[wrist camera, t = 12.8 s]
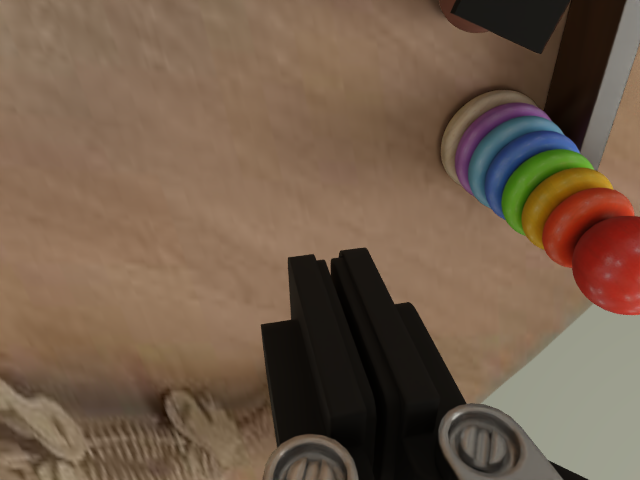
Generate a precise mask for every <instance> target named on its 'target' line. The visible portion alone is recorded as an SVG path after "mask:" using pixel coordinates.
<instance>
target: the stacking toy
mask: <svg viewBox="0 0 640 480" xmlns="http://www.w3.org/2000/svg"><path fill="white" fill-rule="evenodd" d="M441 159H442V163H443V166H444V168H445V170H446V172H447V174H448V175H449V176H450V177H451V178H452V179H453V180H454V181H455V182H456V183H457V184H459V185H461V186H463V188H464V189H465V190H466V191H467V192H469V193H470V194H471V195H473V196H475V197H476V198H477V199H478V200H479V201H480V202H481V203H482V204H483V205H485V206H487V207H489V208H491V209H492V210H493V211H494V212H495V213H496V214H497V215H498V216H500V217H501V218H503V219H505V220H506V221H507V223H508V224H509V225H510V226H511V227H512V228H513V229H514V230H515V231H516V232H518V233H520V234H522V235H525V236H527V238H528V239H529V240H530V241H531V242H532V243H533V244H534V245H536V246H537V247H539V248H541V249H544V250H545V251H546V253H547V255H548V256H549V257H550V258H551V259H552V260H553V261H554V262H556V263H557V264H559V265H561V266H564V267H569V268H572V270H573V275H574V278H575V281H576V283H577V285H578V287H579V288H580V290H581V291H582V293H583V294H584V295H585V296H586V297H587V298H588V299H589V300H590V301H591V302H593V303H594V304H596V305H597V306H599V307H601V308H603V309H604V310H607V311H610V312H613V313H617V314H623V315H639V314H640V217H637V216H634V210H633V207H632V205H631V203H630V201H629V200H628V199H627V198H626V197H625V196H624V195H623V194H621V193H620V192H618V191H616V190H613V187H612V185H611V183H610V182H609V180H608V179H607V178H606V177H605V176H604V175H603V174H601V173H600V172H598V171H596V170H594V168H593V166H592V164H591V163H590V162H589V161H588V160H587V159H586V158H585V157H584V156H583V155H581V154H580V152H579V150H578V148H577V146H576V145H575V144H574V142H573V141H572V140H571V139H569V138H568V137H566V136H565V135H564V134H563V132H562V131H561V129H560V128H559V127H558V126H557V125H556V124H554V123H553V122H552V120H551V119H550V118H549V116H548V115H547V114H546V113H545V112H544V111H542V110H541V109H540V108H538V107H537V105H536V104H535V103H534V102H533V101H532V100H531V99H530V98H529V97H527V96H526V95H524V94H522V93H519V92H516V91H512V90H496V91H491V92H487V93H484V94H482V95H480V96H477V97H475V98H474V99H472V100H470V101H469V102H468V103H466V104H465V105H464V106H463V107H462V108H461V109H460V110H459V111H458V112H457V113H456V114H455V115H454V116H453V118H452V119H451V121H450V122H449V124H448V126H447V128H446V130H445V132H444V135H443V138H442V143H441Z"/></svg>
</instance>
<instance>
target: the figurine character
mask: <svg viewBox="0 0 640 480" xmlns="http://www.w3.org/2000/svg"><path fill="white" fill-rule="evenodd" d="M570 1H571V0H439V4H440V7H441V9H442V12H443V14H444V15H445V17H446V18H447V19H448V21H449V22H450V23H452V24H453V25H454V26H455V27H457V28H459V29H461V30H463V31H466V32H471V33H482V32H488V31H491V32H493V33H495V34H497V35H499V36H501V37H503V38H506V39H508V40H510V41H512V42H514V43H516V44H519V45H521V46H523V47H525V48H527V49H529V50H532V51H534V52H536V53H539V54H541V53H542V52H543V50H544V48H545V46H546V44H547V42H548V41H549V39H550V37H551V35H552V33H553V32H554V30H555V28H556V26H557V24H558V22H559V21H560V19H561V17H562V15H563V13H564V12H565V10H566V8H567V6H568V4H569V2H570Z"/></svg>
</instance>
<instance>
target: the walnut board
mask: <svg viewBox="0 0 640 480" xmlns="http://www.w3.org/2000/svg"><path fill="white" fill-rule="evenodd" d="M639 44H640V0H572V1H571V6H570V10H569V14H568V18H567V22H566V26H565V30H564V34H563V38H562V42H561V46H560V50H559V54H558V58H557V62H556V66H555V70H554V74H553V78H552V82H551V86H550V90H549V94H548V98H547V102H546V106H545V110H544V112H545V113H546V114H547V115H548V116H549V118H550V119H551V120H552V122H553V123H554V124H556V125H557V126H558V127H559V128H560V129H561V131H562V132H563V134H564V135H565V136H566V137H568V138H569V139H571V140H572V141H573V142H574V144H575V145H576V146H577V148H578V150H579V152H580V154H581V155H583V156H584V157H585V158H586V159H587V160H588V161H589V162H590V163H591V164H592V166H593V168H594V170H596V171H597V170H598V167H599V164H600V161H601V158H602V155H603V152H604V149H605V146H606V143H607V140H608V137H609V134H610V131H611V128H612V125H613V122H614V119H615V116H616V113H617V110H618V107H619V104H620V101H621V98H622V95H623V92H624V89H625V86H626V83H627V80H628V77H629V74H630V71H631V68H632V65H633V62H634V59H635V56H636V53H637V50H638V47H639Z"/></svg>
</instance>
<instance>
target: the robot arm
mask: <svg viewBox="0 0 640 480" xmlns="http://www.w3.org/2000/svg"><path fill="white" fill-rule="evenodd" d="M288 274H289V290H290V307H291V320H287V321H281V322H274V323H267V324H261V331H262V341H263V350H264V358H265V366H266V374H267V381H268V388H269V395H270V402H271V409H272V415H273V422H274V429H275V436H276V442H277V449H276V450H274V451H273V452H272V454H271V456H270V458H269V459H268V461H267V463H266V465H265V470H264V475H263V480H588V479H586V478H584V477H582V476H580V475H578V474H576V473H573V472H571V471H569V470H567V469H565V468H563V467H561V466H559V465H557V464H555V463H553V462H551V461H549V460H547V459H546V457H545V456H544V455H543V454H542V452H541V451H540V450H539V449H538V448H537V446H536V445H535V444H534V442H533V441H532V440H531V439H530V438H529V436H528V435H527V434H526V432H525V431H524V430H523V429H522V428H521V426H520V425H518V423H516V422H515V421H514V420H513V419H512V418H511V417H510V416H509V415H507V414H505V413H504V412H502V411H500V410H499V409H496V408H493V407H490V406H487V405H484V404H473V403H470V404H466V402H465V400H464V398H463V396H462V394H461V392H460V391H459V389H458V387H457V385H456V383H455V381H454V379H453V378H452V376H451V374H450V372H449V370H448V368H447V366H446V365H445V363H444V361H443V359H442V357H441V355H440V353H439V352H438V350H437V348H436V346H435V344H434V342H433V340H432V339H431V337H430V335H429V333H428V331H427V329H426V327H425V326H424V324H423V322H422V320H421V318H420V316H419V314H418V313H417V311H416V309H415V307H414V306H413V305H412V304H411V303H410V302H407V303H400V304H394V302H393V300H392V298H391V296H390V294H389V292H388V290H387V288H386V286H385V284H384V282H383V280H382V278H381V276H380V274H379V272H378V270H377V268H376V266H375V264H374V262H373V260H372V258H371V256H370V254H369V252H368V250H367V248H357V249H350V250H342V251H340V253H339V258H333V259H331V275H330V273H329V270H328V267H327V264H326V262H325V260H318V261H316V258H315V256H314V254H311V255H304V256H296V257H288Z"/></svg>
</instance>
